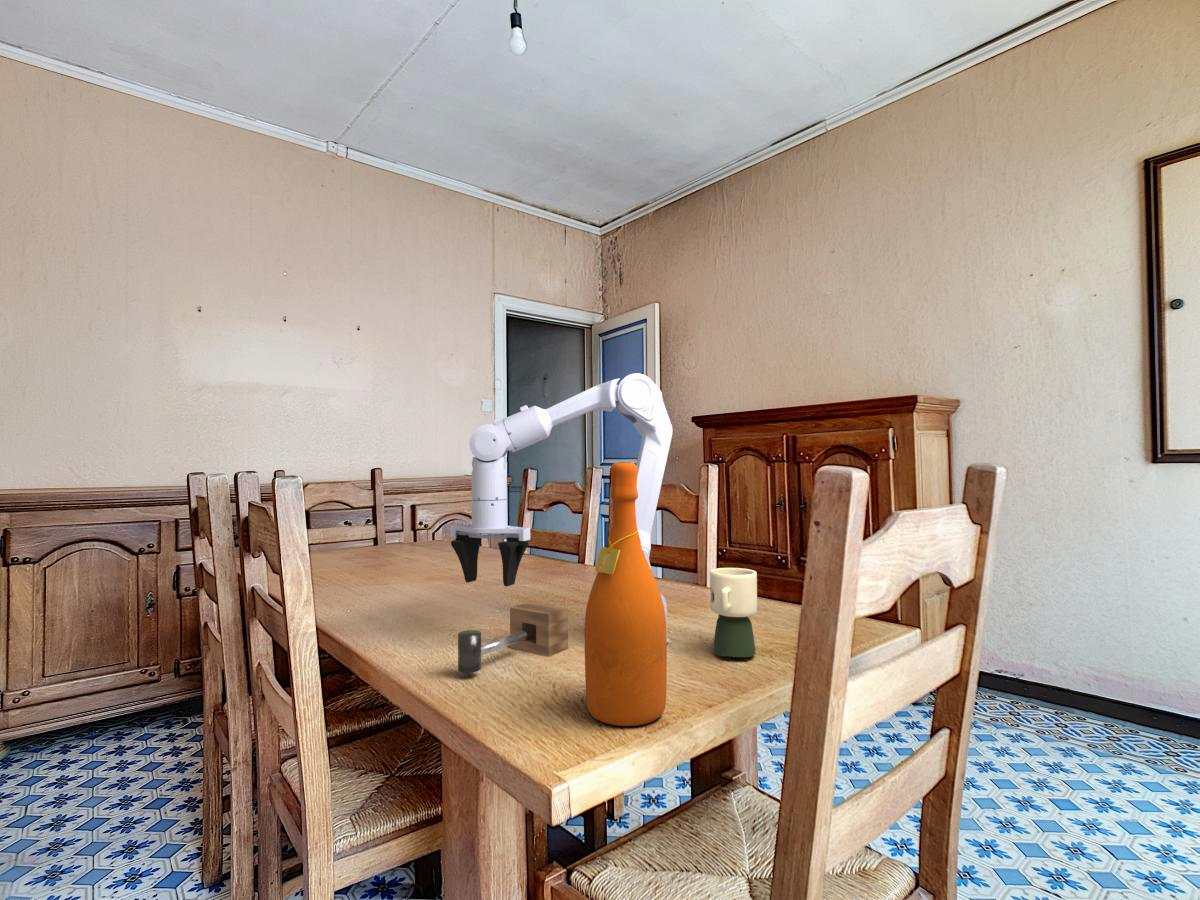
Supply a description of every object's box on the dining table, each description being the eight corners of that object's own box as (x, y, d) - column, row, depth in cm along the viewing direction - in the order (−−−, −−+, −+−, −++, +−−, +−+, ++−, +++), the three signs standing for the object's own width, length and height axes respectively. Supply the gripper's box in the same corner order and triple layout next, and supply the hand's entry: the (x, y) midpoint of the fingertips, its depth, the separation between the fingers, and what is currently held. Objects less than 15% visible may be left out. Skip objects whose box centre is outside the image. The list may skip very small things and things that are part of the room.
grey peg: (516, 646, 96) (515, 614, 96) (531, 649, 94) (531, 617, 94) (453, 670, 85) (453, 634, 85) (469, 674, 83) (469, 637, 83)
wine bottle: (583, 698, 77) (581, 462, 78) (660, 695, 78) (657, 461, 78) (587, 732, 67) (584, 461, 68) (674, 729, 68) (671, 461, 69)
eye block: (530, 640, 102) (530, 601, 102) (568, 648, 98) (567, 607, 98) (510, 648, 98) (509, 607, 98) (548, 656, 94) (548, 614, 94)
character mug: (721, 643, 100) (720, 564, 100) (765, 649, 96) (764, 567, 97) (700, 663, 90) (699, 575, 90) (748, 670, 87) (747, 579, 87)
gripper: (540, 499, 100) (540, 582, 99) (469, 497, 106) (469, 575, 106) (516, 501, 93) (516, 590, 93) (442, 499, 100) (442, 583, 99)
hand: (489, 583), depth 99 cm, fingers open, 7 cm apart
